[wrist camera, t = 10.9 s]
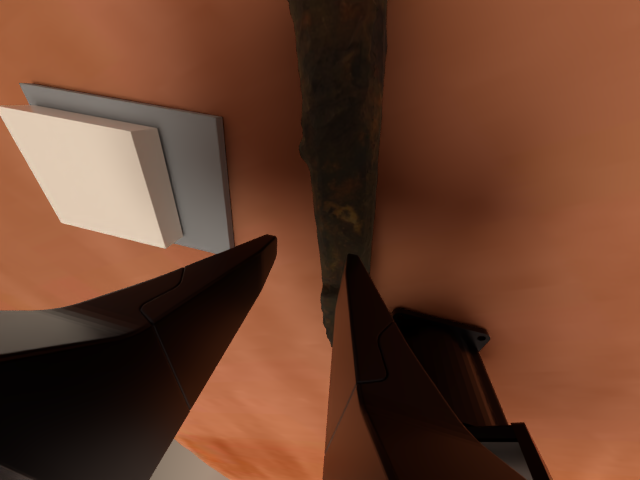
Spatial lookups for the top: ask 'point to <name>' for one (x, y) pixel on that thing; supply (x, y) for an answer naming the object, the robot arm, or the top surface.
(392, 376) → the robot arm
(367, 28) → the hand tool
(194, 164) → the mat
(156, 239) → the tile
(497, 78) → the top surface
